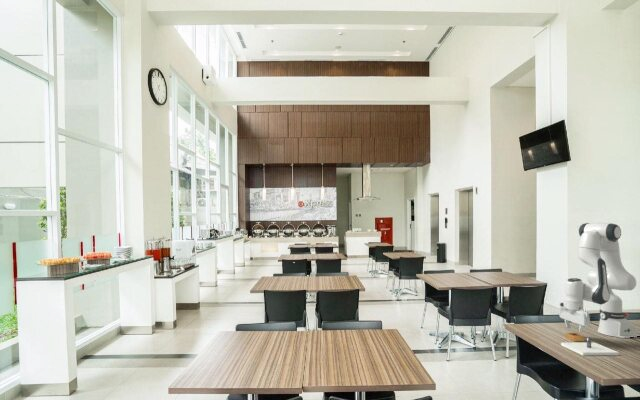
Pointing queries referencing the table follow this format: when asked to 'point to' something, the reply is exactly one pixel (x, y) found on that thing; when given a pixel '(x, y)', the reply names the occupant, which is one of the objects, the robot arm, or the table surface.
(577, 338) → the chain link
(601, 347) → the plate
